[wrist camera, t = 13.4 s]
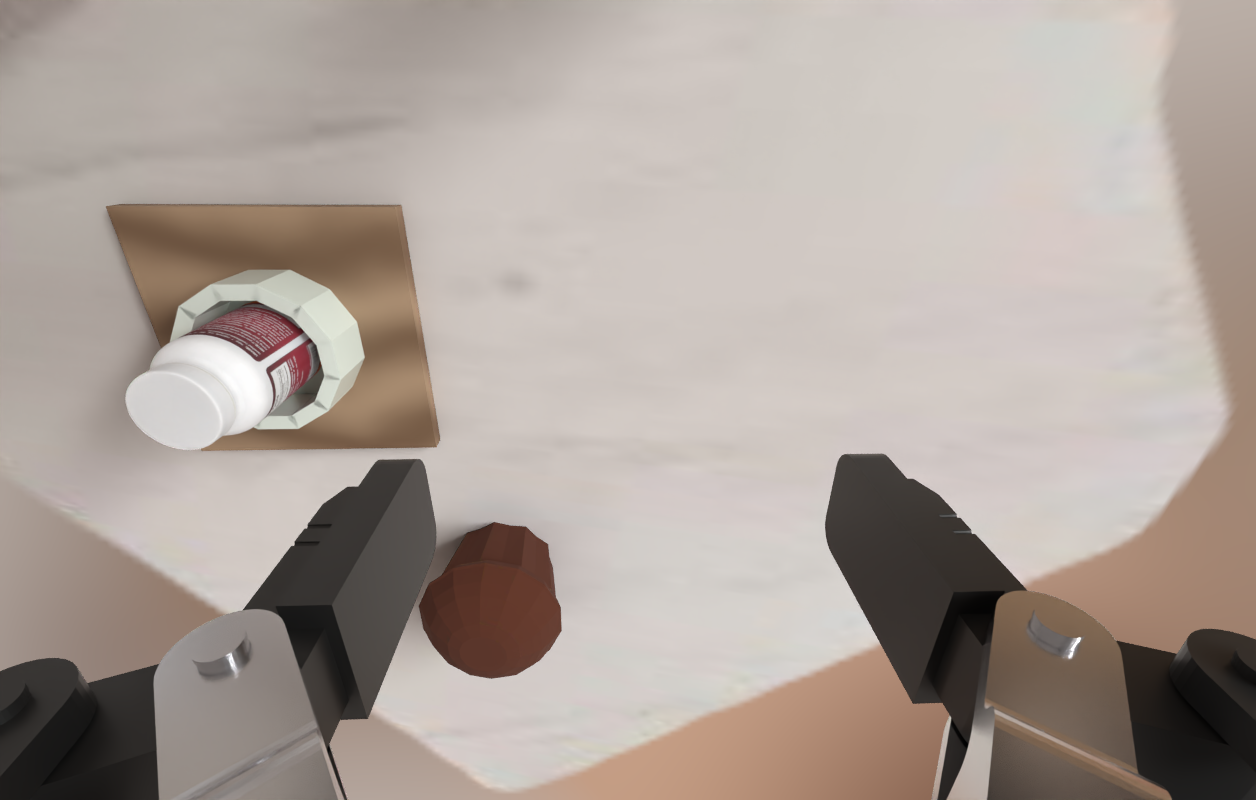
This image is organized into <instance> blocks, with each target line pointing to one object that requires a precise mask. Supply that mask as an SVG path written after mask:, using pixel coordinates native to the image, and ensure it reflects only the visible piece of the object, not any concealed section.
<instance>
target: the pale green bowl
mask: <svg viewBox="0 0 1256 800" xmlns="http://www.w3.org/2000/svg"><path fill="white" fill-rule="evenodd" d="M252 301H258V302H260V303H262V304H264V305H267V306H269V307H271V308H273V309H275V310H277V311H279V312H281V313H284V314H286V315H288V316H290V317H292V318H293V319H294V320H295V322H296V323H297V324H298V325H299V326H300V327H301V328H302V329H303V331H304V332H305V333H306V334H307V335H308V336H309V337H310V338H311V340H312V341H313V342H314V343H315V344H316V345H317V349H318V353H319V357H320V361H321V365H322V367H321V369H320V370H319V371H318V372H317V373H316V374H315V375H314V376H313V377H312V378H311V379H310V380H309V381H307V382H306V383H305V384H304V385H303V386H302V387H300V388H299V389H298V390H297V391H296V392H295V393H293V394H292V395H291V396H290V397H289V398H288V399H286V400H285V401H284V402H283V403H282V404H281V405H279V406H278V407H277V408H276V409H275V410H274V411H272V412H271V413H270V414H269V415H268V416H267V417H266V418H264V419H263V420H262V421H261V422H260V423H258V424H257V425H256V426H254V428H256V429H299V428H301V427H302V426H304V425H306V424H308V423H309V422H311V421H313V420H314V419H316V418H318V417H319V416H321V415H323V414H324V413H326V412H328V411H329V410H330V409H331V408H332V407H333V406H334V405H335V404H336V403H337V402H338V401H339V400H340V399H341V398H342V397H343V396H344V395H345V394H346V393H347V392H348V391H349V390H350V389H351V388H352V387H353V385H354V382H355V380H356V377H357V375H358V373H359V370H360V368H361V365H362V363H363V360H364V358H365V356H364V351H363V347H362V342H361V338H360V333H359V329H358V324H357V321H356V320H355V319H354V318H353V316H352V315H351V314H350V313H349V312H348V310H347V309H346V308H345V307H344V306H343V304H342V303H341V302H340V301H339V300H338V298H337V297H336V296H335V295H334V294H333V292H332V291H331V290H330V289H328V288H326V287H324V286H322V285H320V284H318V283H316V282H314V281H312V280H310V279H308V278H306V277H304V276H302V275H300V274H298V273H296V272H294V271H292V270H247V271H244V272H242V273H239V274H236V275H234V276H231V277H229V278H226V279H223V280H221V281H218V282H216V283H213V284H210V285H209V286H208V287H206V288H205V289H203V290H202V291H200V292H199V293H197V294H196V295H194V296H193V297H192V298H190V299H189V300H187V301H186V302H184V303H183V304H181V305H180V306H179V307H178V311H177V315H176V319H175V323H174V327H173V331H172V335H171V339H170V342H172V341H173V340H175V339H177V338H179V337H181V336H183V335H185V334H187V333H189V332H191V331H193V330H195V329H197V328H199V327H201V326H203V325H205V324H207V323H209V322H211V321H213V320H215V319H217V318H219V317H221V316H223V315H225V314H227V313H229V312H231V311H233V310H235V309H237V308H239V307H241V306H243V305H245V304H247V303H250V302H252Z"/></svg>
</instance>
